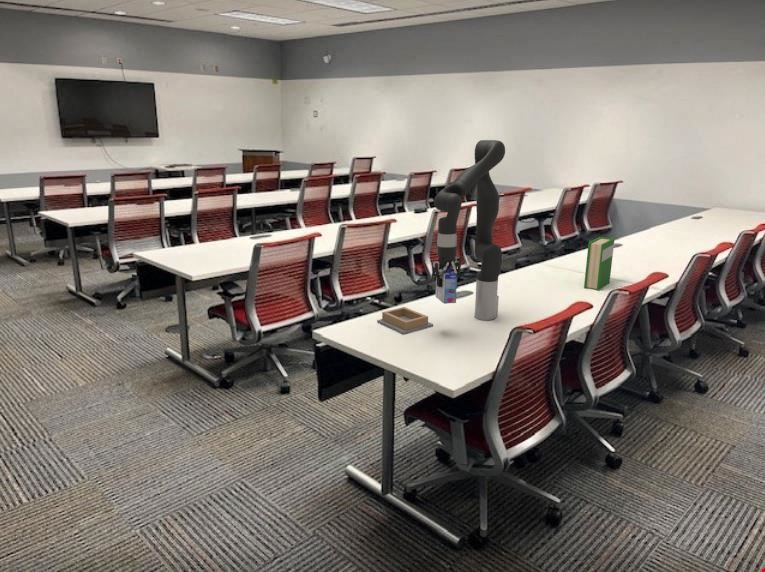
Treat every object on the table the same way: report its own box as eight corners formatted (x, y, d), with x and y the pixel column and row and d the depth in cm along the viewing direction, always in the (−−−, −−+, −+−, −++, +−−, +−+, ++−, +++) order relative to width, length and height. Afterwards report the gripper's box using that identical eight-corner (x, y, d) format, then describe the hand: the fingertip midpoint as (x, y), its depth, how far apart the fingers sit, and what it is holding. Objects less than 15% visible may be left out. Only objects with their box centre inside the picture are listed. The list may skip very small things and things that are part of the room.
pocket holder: (406, 314, 254) (406, 305, 252) (433, 326, 240) (433, 316, 239) (377, 322, 244) (377, 312, 243) (403, 334, 231) (403, 324, 229)
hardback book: (598, 290, 288) (603, 244, 281) (583, 288, 293) (588, 242, 286) (609, 283, 302) (614, 238, 295) (595, 280, 306) (600, 236, 299)
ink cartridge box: (457, 303, 225) (457, 267, 221) (444, 304, 224) (444, 268, 220) (447, 295, 234) (448, 261, 230) (435, 297, 233) (435, 262, 229)
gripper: (453, 240, 230) (452, 279, 234) (426, 245, 221) (426, 286, 226) (467, 243, 224) (465, 284, 229) (439, 248, 216) (439, 290, 220)
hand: (446, 285), depth 227 cm, fingers closed on ink cartridge box, 6 cm apart
